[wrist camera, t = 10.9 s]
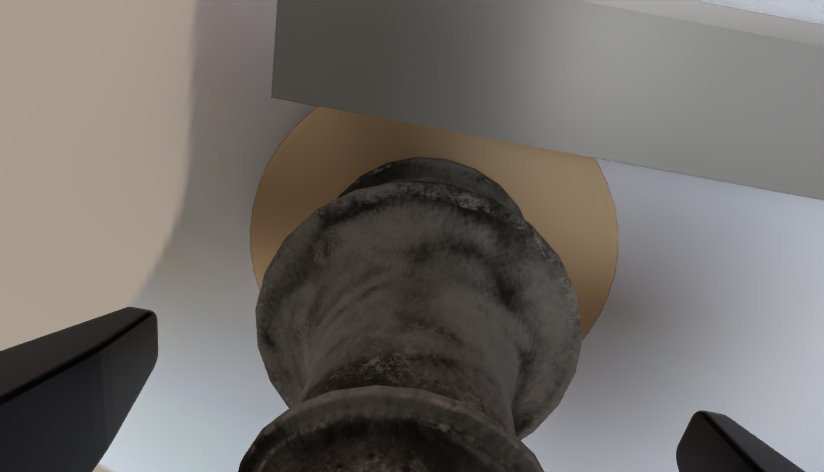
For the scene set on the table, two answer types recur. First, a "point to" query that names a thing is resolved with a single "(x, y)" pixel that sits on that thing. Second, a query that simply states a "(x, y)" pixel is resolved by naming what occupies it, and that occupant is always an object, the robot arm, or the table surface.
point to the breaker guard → (576, 79)
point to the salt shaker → (414, 329)
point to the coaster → (499, 160)
